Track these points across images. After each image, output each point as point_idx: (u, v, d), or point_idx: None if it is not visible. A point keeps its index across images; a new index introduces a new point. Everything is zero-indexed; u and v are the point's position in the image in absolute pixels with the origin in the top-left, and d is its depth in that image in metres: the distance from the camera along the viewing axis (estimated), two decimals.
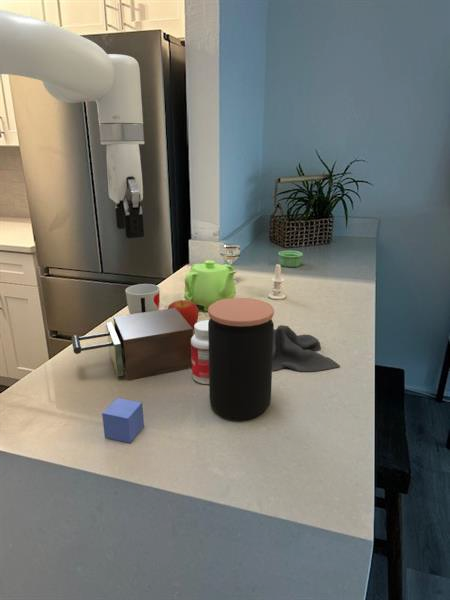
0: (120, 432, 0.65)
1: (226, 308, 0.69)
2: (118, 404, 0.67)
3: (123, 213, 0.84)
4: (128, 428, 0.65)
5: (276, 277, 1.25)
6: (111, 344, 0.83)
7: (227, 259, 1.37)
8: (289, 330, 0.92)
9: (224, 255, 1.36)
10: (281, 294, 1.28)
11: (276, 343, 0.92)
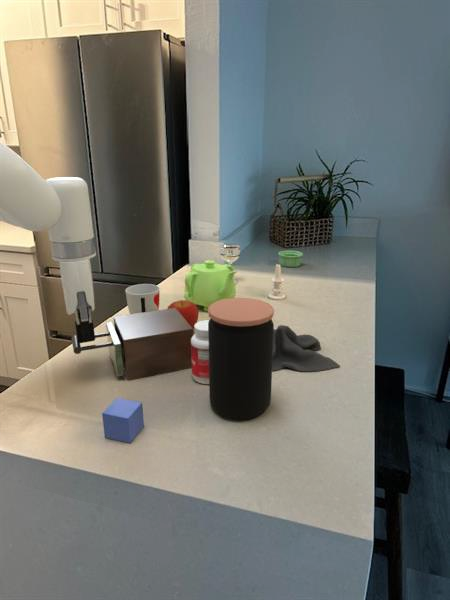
0: (120, 432, 0.65)
1: (226, 308, 0.69)
2: (118, 404, 0.67)
3: None
4: (128, 428, 0.65)
5: (276, 277, 1.25)
6: (111, 344, 0.83)
7: (227, 259, 1.37)
8: (289, 330, 0.92)
9: (224, 255, 1.36)
10: (281, 294, 1.28)
11: (276, 343, 0.92)
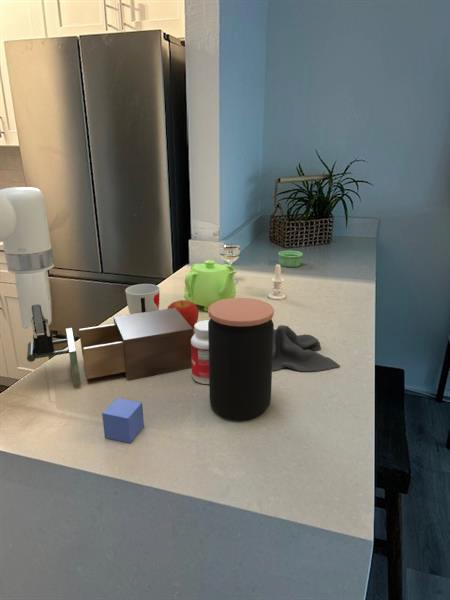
0: (120, 432, 0.65)
1: (226, 308, 0.69)
2: (118, 404, 0.67)
3: None
4: (128, 428, 0.65)
5: (276, 277, 1.25)
6: (67, 351, 0.80)
7: (227, 259, 1.37)
8: (289, 330, 0.92)
9: (224, 255, 1.36)
10: (281, 294, 1.28)
11: (276, 343, 0.92)
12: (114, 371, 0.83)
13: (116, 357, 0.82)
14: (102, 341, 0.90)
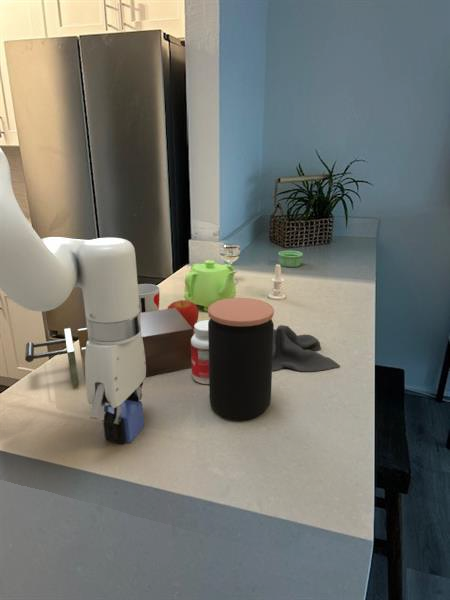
0: None
1: (226, 308, 0.69)
2: None
3: None
4: (128, 428, 0.65)
5: (276, 277, 1.25)
6: (66, 352, 0.80)
7: (227, 259, 1.37)
8: (289, 330, 0.92)
9: (224, 255, 1.36)
10: (281, 294, 1.28)
11: (276, 343, 0.92)
12: None
13: None
14: None
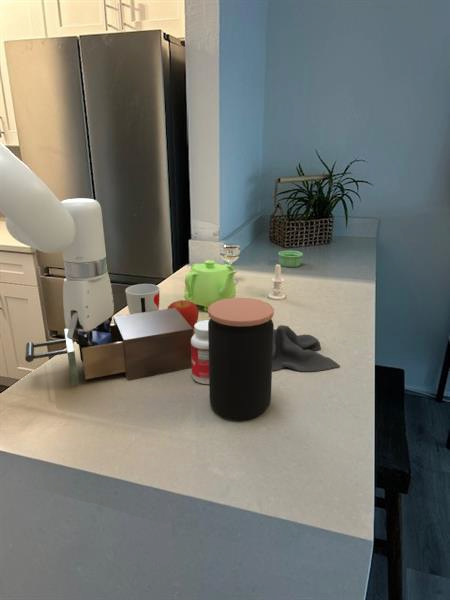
0: None
1: (226, 308, 0.69)
2: None
3: None
4: None
5: (276, 277, 1.25)
6: (66, 352, 0.80)
7: (227, 259, 1.37)
8: (289, 330, 0.92)
9: (224, 255, 1.36)
10: (281, 294, 1.28)
11: (276, 343, 0.92)
12: (112, 371, 0.83)
13: (115, 357, 0.82)
14: None
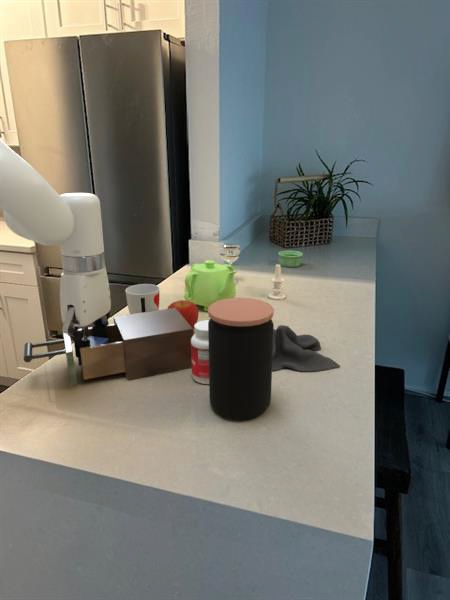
0: None
1: (226, 308, 0.69)
2: (89, 339, 0.85)
3: (97, 332, 0.86)
4: None
5: (276, 277, 1.25)
6: (64, 352, 0.80)
7: (227, 259, 1.37)
8: (289, 330, 0.92)
9: (224, 255, 1.36)
10: (281, 294, 1.28)
11: (276, 343, 0.92)
12: (111, 372, 0.83)
13: (113, 358, 0.82)
14: None
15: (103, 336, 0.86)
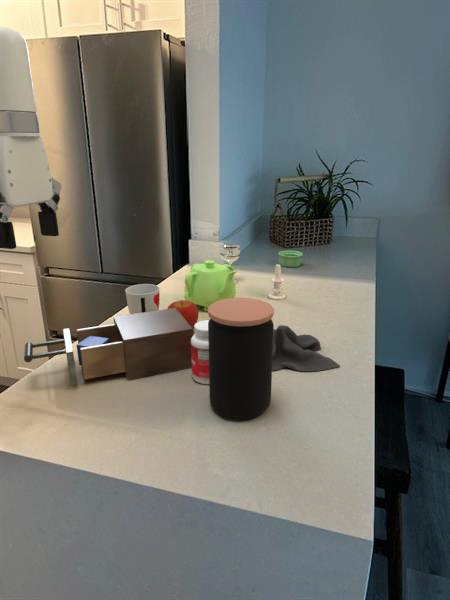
0: None
1: (226, 308, 0.69)
2: (90, 339, 0.85)
3: (44, 218, 0.72)
4: None
5: (276, 277, 1.25)
6: (64, 352, 0.80)
7: (227, 259, 1.37)
8: (289, 330, 0.92)
9: (224, 255, 1.36)
10: (281, 294, 1.28)
11: (276, 343, 0.92)
12: (111, 372, 0.83)
13: (114, 358, 0.82)
14: None
15: (51, 222, 0.72)
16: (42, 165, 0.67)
